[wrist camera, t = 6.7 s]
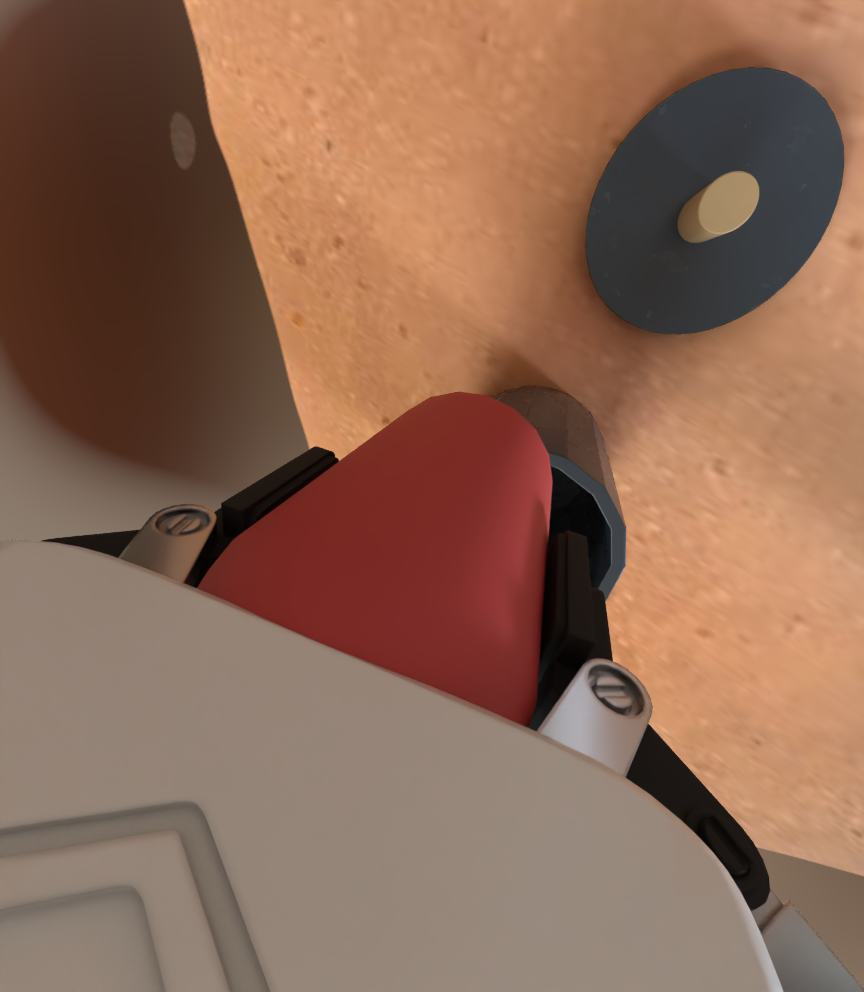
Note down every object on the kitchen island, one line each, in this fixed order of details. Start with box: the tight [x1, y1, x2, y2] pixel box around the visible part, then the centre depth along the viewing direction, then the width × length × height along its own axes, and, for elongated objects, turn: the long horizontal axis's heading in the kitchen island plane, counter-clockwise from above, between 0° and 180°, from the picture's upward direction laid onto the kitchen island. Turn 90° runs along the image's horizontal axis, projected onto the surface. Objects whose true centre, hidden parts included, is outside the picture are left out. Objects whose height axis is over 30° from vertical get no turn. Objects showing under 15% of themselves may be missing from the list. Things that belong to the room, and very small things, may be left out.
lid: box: [585, 67, 844, 334], centre depth 22 cm, size 13×13×6 cm
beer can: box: [197, 392, 553, 728], centre depth 11 cm, size 7×7×12 cm
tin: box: [492, 386, 626, 601], centre depth 28 cm, size 12×12×14 cm
